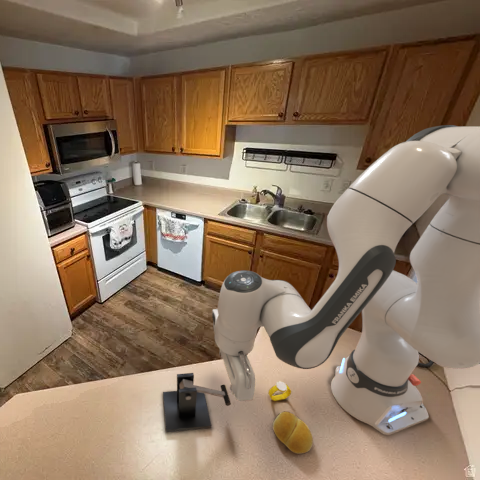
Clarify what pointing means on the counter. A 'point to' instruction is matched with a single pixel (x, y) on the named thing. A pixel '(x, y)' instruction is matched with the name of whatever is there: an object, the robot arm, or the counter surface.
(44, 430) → the counter surface
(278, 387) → the watch
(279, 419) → the bread roll
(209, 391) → the lever
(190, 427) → the bracket
